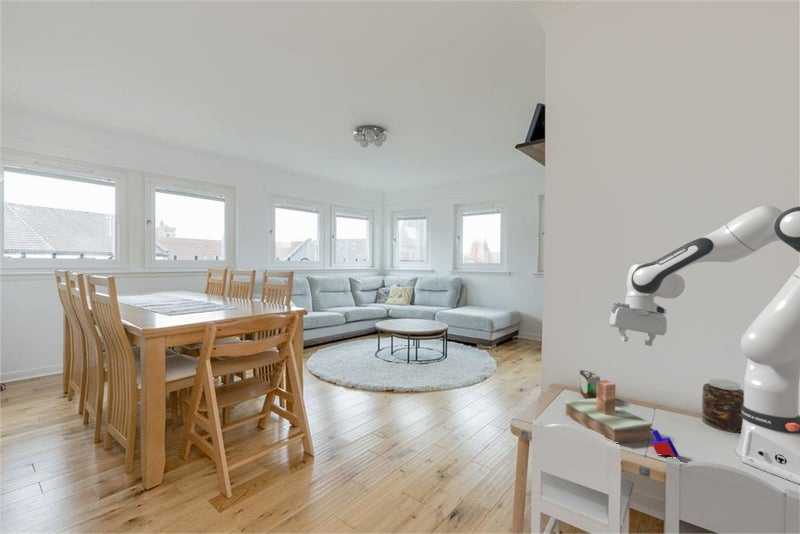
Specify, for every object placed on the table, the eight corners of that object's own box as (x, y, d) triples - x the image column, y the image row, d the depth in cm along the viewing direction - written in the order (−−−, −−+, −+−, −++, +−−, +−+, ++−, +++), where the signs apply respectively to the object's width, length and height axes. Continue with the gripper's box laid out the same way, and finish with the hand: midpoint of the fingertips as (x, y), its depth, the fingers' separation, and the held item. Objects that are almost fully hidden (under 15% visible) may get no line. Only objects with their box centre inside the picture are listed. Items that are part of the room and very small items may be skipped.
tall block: (615, 413, 125) (615, 384, 125) (605, 414, 124) (605, 385, 124) (605, 408, 129) (606, 380, 129) (596, 409, 128) (596, 381, 128)
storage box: (652, 439, 117) (652, 423, 117) (614, 444, 114) (614, 428, 114) (597, 411, 139) (597, 398, 139) (564, 414, 136) (564, 401, 136)
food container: (604, 404, 146) (605, 379, 146) (587, 403, 147) (588, 378, 147) (594, 393, 158) (595, 370, 158) (579, 392, 159) (579, 369, 159)
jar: (753, 428, 125) (754, 384, 125) (736, 435, 120) (737, 389, 120) (711, 415, 136) (712, 375, 136) (694, 421, 131) (695, 379, 131)
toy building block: (663, 457, 109) (649, 429, 112) (679, 455, 107) (664, 427, 109) (661, 462, 107) (646, 433, 109) (677, 460, 104) (661, 431, 107)
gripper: (618, 300, 134) (615, 339, 132) (670, 310, 136) (668, 348, 133) (607, 301, 141) (604, 338, 138) (657, 311, 142) (655, 347, 140)
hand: (636, 343), depth 136 cm, fingers open, 8 cm apart
